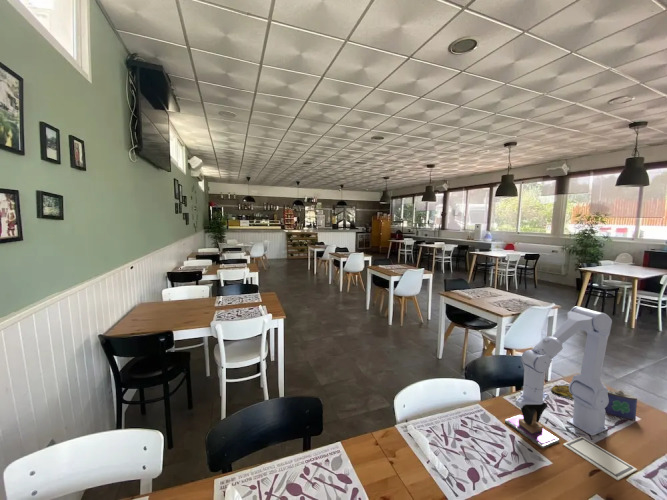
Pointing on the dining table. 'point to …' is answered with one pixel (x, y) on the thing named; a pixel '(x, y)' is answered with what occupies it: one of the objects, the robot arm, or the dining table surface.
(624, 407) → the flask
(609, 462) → the marked card
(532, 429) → the stamp
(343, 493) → the dining table surface
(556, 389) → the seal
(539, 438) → the ink pad
